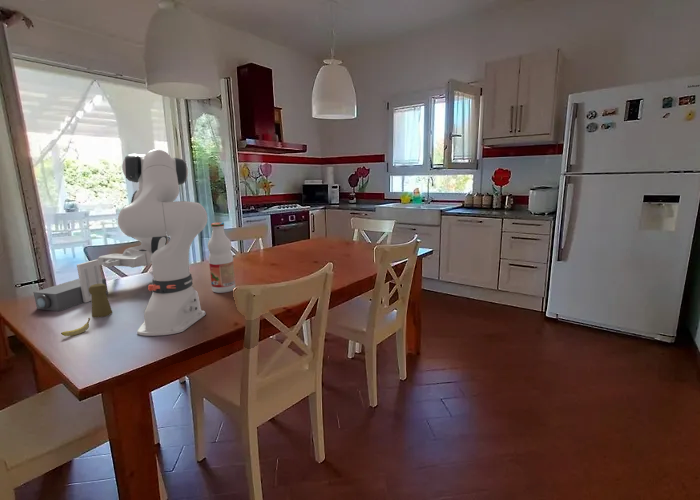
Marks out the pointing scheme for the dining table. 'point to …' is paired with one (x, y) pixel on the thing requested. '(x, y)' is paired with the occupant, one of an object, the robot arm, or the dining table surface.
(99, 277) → the cover
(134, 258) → the robot arm
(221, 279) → the fruit juice
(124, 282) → the dining table surface
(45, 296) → the camera block
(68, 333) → the banana
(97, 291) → the cork
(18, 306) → the dining table surface
